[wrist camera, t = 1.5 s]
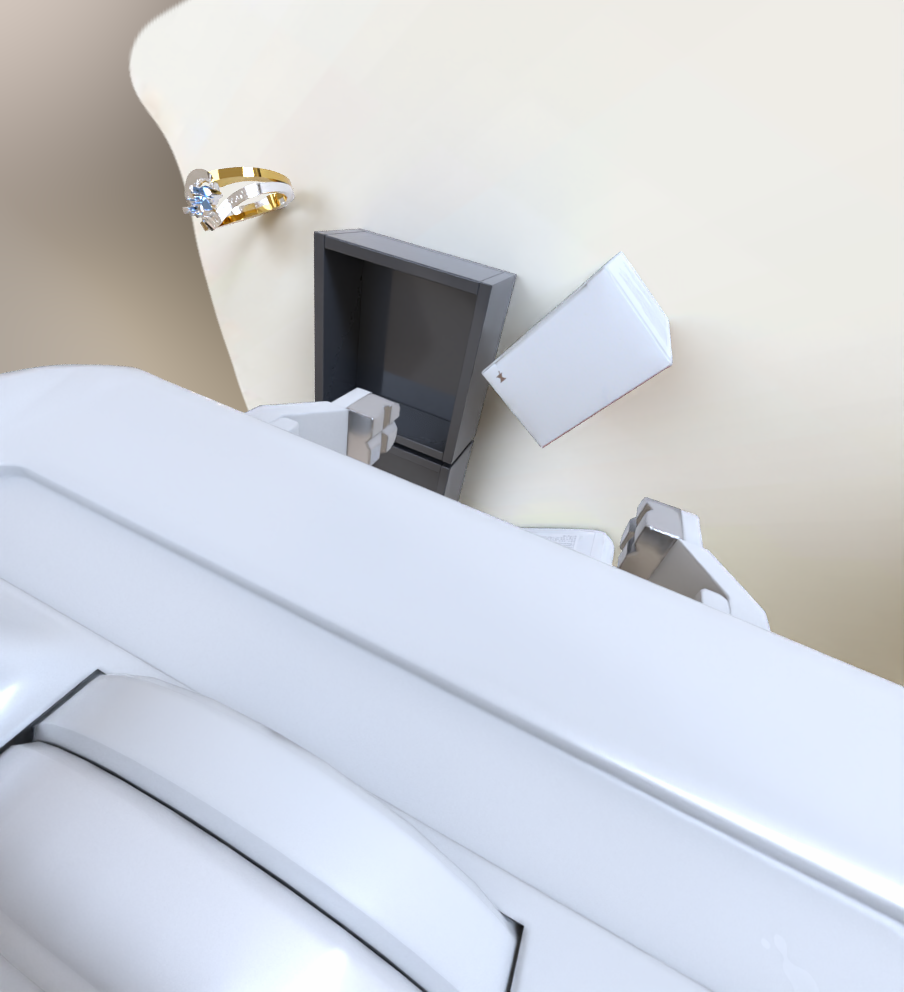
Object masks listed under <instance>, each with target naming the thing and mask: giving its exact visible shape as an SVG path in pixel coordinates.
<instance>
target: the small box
mask: <svg viewBox="0 0 904 992" xmlns="http://www.w3.org/2000/svg"><path fill="white" fill-rule="evenodd" d="M672 363H673V360H672V350H671V337H670V327H669V320H668V318H667V317H666V315H665V314H664V312H663V311H662V309H661V308H660V306H659V305H658V303H657V302H656V300H655V299H654V297H653V296H652V294H651V293H650V291H649V290H648V288H647V287H646V286H645V284H644V283H643V281H642V280H641V278H640V277H639V275H638V274H637V272H636V271H635V270H634V268H633V267H632V265H631V264H630V262H629V261H628V260H627V258H626V257H625V255H624V254H623V253H622V252H619V253H618V254H616V255H615V256H614V257H613V258H612V259H610V260H609V261H608V262H607V263H606V264H605V265H604V266H602V267H601V268H600V269H599V270H598V271H597V272H596V273H595V274H593V275H592V276H591V277H590V278H589V279H588V280H587V281H586V282H584V283H583V284H582V285H581V286H580V287H579V288H578V289H576V290H575V291H574V292H573V293H572V294H571V295H569V296H568V297H567V298H566V299H565V300H564V301H562V302H561V303H560V304H559V305H558V306H557V307H555V308H554V309H553V310H552V311H551V312H550V313H548V314H547V315H546V316H545V317H544V318H543V319H541V320H540V321H539V322H538V323H537V324H536V325H534V326H533V327H532V328H531V329H530V330H529V331H528V332H526V333H525V334H524V335H523V336H522V337H521V338H519V339H518V340H517V341H516V342H515V343H514V344H513V345H511V346H510V347H509V348H508V349H507V350H506V351H505V352H504V353H502V354H501V355H500V356H499V357H498V358H497V359H496V360H495V361H493V362H492V363H491V364H490V365H489V366H488V367H487V368H485V369H484V370H483V371H482V375H483V376H484V377H485V378H486V380H487V381H488V382H489V383H490V385H491V386H492V387H493V389H494V390H495V391H496V392H497V393H498V395H499V396H500V397H501V398H502V400H503V401H504V402H505V403H506V405H507V406H508V407H509V408H510V410H511V411H512V412H513V413H514V415H515V416H516V417H517V418H518V420H519V421H520V422H521V423H522V425H523V426H524V427H525V428H526V430H527V431H528V432H529V433H530V435H531V436H532V437H533V438H534V439H535V441H536V442H537V443H538V444H539V446H540V447H542V448H544V447H545V446H547V445H548V444H550V443H551V442H553V441H554V440H556V439H557V438H559V437H561V436H562V435H564V434H565V433H567V432H568V431H570V430H571V429H573V428H574V427H576V426H578V425H579V424H581V423H582V422H584V421H585V420H587V419H588V418H590V417H592V416H593V415H595V414H596V413H598V412H599V411H601V410H602V409H604V408H606V407H607V406H609V405H610V404H612V403H613V402H615V401H616V400H618V399H620V398H621V397H623V396H624V395H626V394H627V393H629V392H630V391H632V390H634V389H635V388H637V387H638V386H640V385H641V384H643V383H645V382H646V381H648V380H649V379H651V378H652V377H654V376H655V375H657V374H658V373H660V372H662V371H663V370H665V369H666V368H668V367H670V366H671V365H672Z"/></svg>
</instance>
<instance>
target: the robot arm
mask: <svg viewBox="0 0 904 992" xmlns="http://www.w3.org/2000/svg"><path fill="white" fill-rule="evenodd" d="M399 412H400V406H399V403H396V402H394V401H391V400H389V399H386V398H384V397H381V396H379V395H376V394H374V393H372V392H370V391H367V390H364V389H361V388H356V389H354V390H352V391H350V392H349V393H347V394H345V395H343V396H342V397H340V398H338V399H336V400H335V401H333V402H328V401H321V402H306V403H291V404H276V405H261V406H258V407H256V408H254V409H252V410H250V411H248V412H245V413H243V412H240V411H238V410H236V409H233V408H231V407H228V406H226V405H223V404H221V403H219V402H216V401H214V400H211V399H209V398H207V397H204V396H202V395H199V394H197V393H195V392H192V391H190V390H188V389H185V388H183V387H180V386H178V385H176V384H173V383H170V382H168V381H166V380H163V379H161V378H159V377H157V376H155V375H152V374H150V373H148V372H145V371H143V370H140V369H138V368H134V367H126V366H114V365H78V364H71V365H49V366H41V367H34V368H27V369H22V370H17V371H12V372H6V373H2V374H0V992H904V687H903V686H901V685H899V684H896V683H894V682H891V681H889V680H886V679H884V678H881V677H879V676H877V675H874V674H872V673H869V672H867V671H864V670H862V669H860V668H857V667H855V666H852V665H850V664H848V663H845V662H843V661H840V660H838V659H836V658H833V657H831V656H828V655H826V654H824V653H821V652H819V651H816V650H814V649H812V648H809V647H807V646H804V645H802V644H800V643H797V642H795V641H792V640H790V639H788V638H785V637H783V636H780V635H778V634H775V633H773V632H771V630H770V627H769V623H768V619H767V615H766V612H765V611H764V610H763V609H762V608H761V607H760V605H759V604H758V603H757V602H756V601H755V600H754V599H753V598H752V597H751V596H750V595H749V594H748V592H747V591H746V590H745V589H744V588H743V587H742V586H741V585H740V584H739V583H738V582H737V581H736V580H735V578H734V577H733V576H732V575H731V574H730V573H729V572H728V571H727V570H726V569H725V568H724V567H723V565H722V564H721V563H720V562H719V561H718V560H717V559H716V558H715V557H714V556H713V555H712V554H711V552H710V551H709V550H707V549H704V548H703V543H702V536H701V529H700V522H699V517H698V516H697V515H695V514H692V513H689V512H686V511H683V510H681V509H678V508H676V507H673V506H670V505H667V504H664V503H661V502H659V501H656V500H653V499H650V498H647V497H644V499H643V500H642V501H641V503H640V504H639V506H638V507H637V515H636V517H635V518H632V519H630V521H629V523H628V524H627V526H626V528H625V530H624V533H623V535H622V538H621V542H620V549H621V550H622V552H621V553H620V555H619V557H618V566H617V568H616V567H614V566H611V565H609V564H607V563H604V562H602V561H599V560H597V559H595V558H592V557H590V556H587V555H585V554H583V553H580V552H578V551H575V550H573V549H570V548H568V547H566V546H563V545H561V544H558V543H556V542H554V541H551V540H549V539H546V538H544V537H542V536H539V535H537V534H534V533H532V532H529V531H527V530H525V529H522V528H520V527H517V526H515V525H513V524H510V523H508V522H505V521H503V520H501V519H498V518H496V517H493V516H491V515H489V514H486V513H484V512H481V511H479V510H477V509H474V508H472V507H469V506H467V505H465V504H462V503H460V502H457V501H455V500H452V499H450V498H448V497H445V496H443V495H440V494H438V493H436V492H433V491H431V490H428V489H426V488H424V487H421V486H419V485H416V484H414V483H412V482H409V481H407V480H404V479H402V478H400V477H397V476H395V475H392V474H390V473H388V472H385V471H383V470H380V469H378V468H376V467H373V466H372V465H373V464H374V463H375V462H376V461H377V460H378V459H379V457H380V454H381V453H386V452H387V451H388V450H389V449H391V447H392V445H393V443H394V442H395V438H396V435H397V426H396V424H395V422H394V420H396V419H397V418H398V417H399Z"/></svg>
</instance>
